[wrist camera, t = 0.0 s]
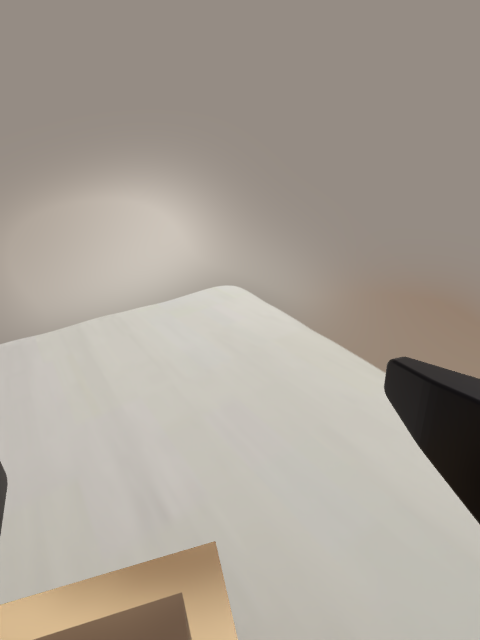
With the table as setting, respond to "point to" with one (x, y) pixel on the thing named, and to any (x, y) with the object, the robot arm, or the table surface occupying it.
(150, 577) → the lid
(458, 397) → the robot arm
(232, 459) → the table surface
